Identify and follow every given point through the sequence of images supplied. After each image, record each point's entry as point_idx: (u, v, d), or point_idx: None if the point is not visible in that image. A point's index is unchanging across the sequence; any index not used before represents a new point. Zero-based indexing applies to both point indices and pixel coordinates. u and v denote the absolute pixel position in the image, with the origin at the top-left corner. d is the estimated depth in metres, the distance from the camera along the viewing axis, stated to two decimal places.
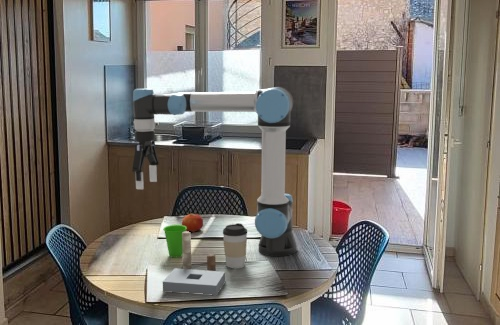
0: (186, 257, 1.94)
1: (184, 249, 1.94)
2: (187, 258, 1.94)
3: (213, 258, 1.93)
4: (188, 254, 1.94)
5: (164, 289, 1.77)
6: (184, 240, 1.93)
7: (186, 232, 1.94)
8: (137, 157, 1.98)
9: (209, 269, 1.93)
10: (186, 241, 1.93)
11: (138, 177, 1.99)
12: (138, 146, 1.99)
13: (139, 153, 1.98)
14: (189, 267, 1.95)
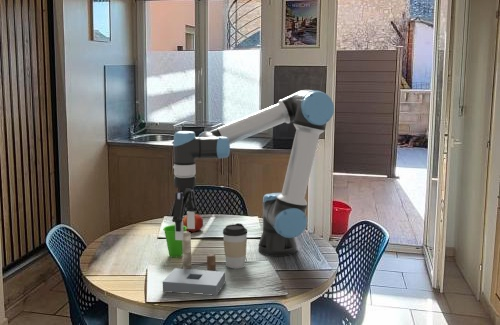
0: (186, 257, 1.94)
1: (184, 249, 1.94)
2: (187, 258, 1.94)
3: (213, 258, 1.93)
4: (188, 254, 1.94)
5: (164, 289, 1.77)
6: (184, 240, 1.93)
7: (186, 232, 1.94)
8: (178, 206, 1.84)
9: (209, 269, 1.93)
10: (186, 241, 1.93)
11: (178, 227, 1.85)
12: (179, 194, 1.85)
13: (180, 202, 1.84)
14: (189, 267, 1.95)
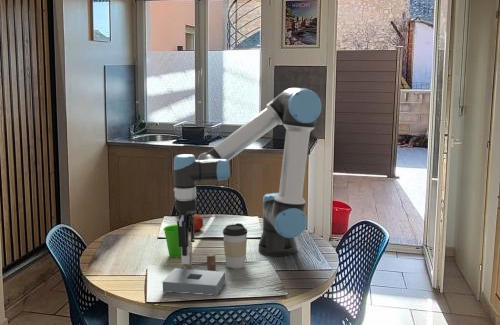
0: None
1: None
2: None
3: (213, 258, 1.93)
4: None
5: (164, 289, 1.77)
6: None
7: None
8: (181, 233, 1.88)
9: (209, 269, 1.93)
10: None
11: (184, 252, 1.92)
12: (180, 223, 1.87)
13: (183, 229, 1.88)
14: (189, 267, 1.95)
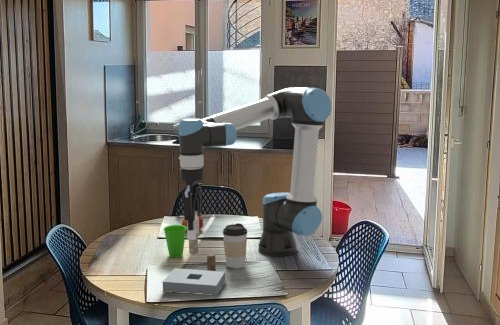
0: None
1: None
2: None
3: (213, 258, 1.93)
4: None
5: (164, 289, 1.77)
6: None
7: None
8: (187, 205, 1.71)
9: (209, 269, 1.93)
10: None
11: (190, 226, 1.74)
12: (186, 193, 1.69)
13: (189, 200, 1.71)
14: (195, 249, 1.78)
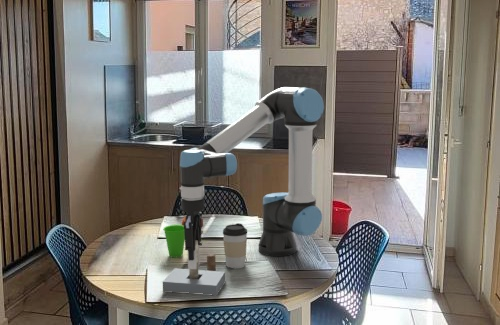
0: None
1: None
2: None
3: (213, 258, 1.93)
4: None
5: (164, 289, 1.77)
6: None
7: None
8: (188, 235, 1.73)
9: (209, 269, 1.93)
10: None
11: (191, 256, 1.76)
12: (187, 224, 1.71)
13: (190, 231, 1.72)
14: (196, 278, 1.80)
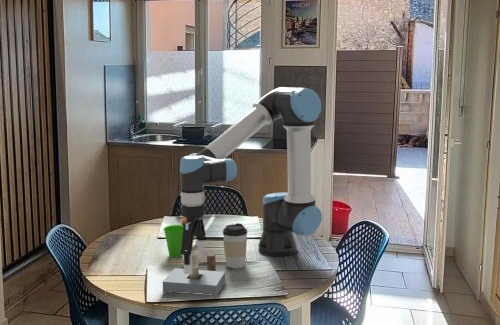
0: (193, 272, 1.79)
1: None
2: (194, 273, 1.79)
3: (213, 258, 1.93)
4: (195, 270, 1.79)
5: (164, 289, 1.77)
6: None
7: (193, 246, 1.79)
8: (186, 237, 1.70)
9: (209, 269, 1.93)
10: (193, 256, 1.78)
11: (187, 261, 1.71)
12: (187, 225, 1.71)
13: (188, 233, 1.71)
14: None
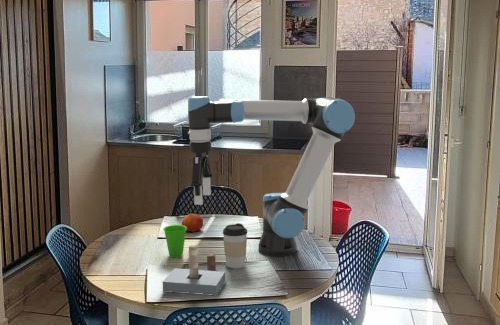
0: (193, 273, 1.79)
1: (191, 264, 1.79)
2: (194, 273, 1.79)
3: (213, 258, 1.93)
4: (195, 270, 1.79)
5: (164, 289, 1.77)
6: (191, 255, 1.78)
7: (193, 246, 1.79)
8: (196, 170, 1.85)
9: (209, 269, 1.93)
10: (193, 256, 1.78)
11: (197, 191, 1.86)
12: (196, 158, 1.85)
13: (198, 166, 1.85)
14: None
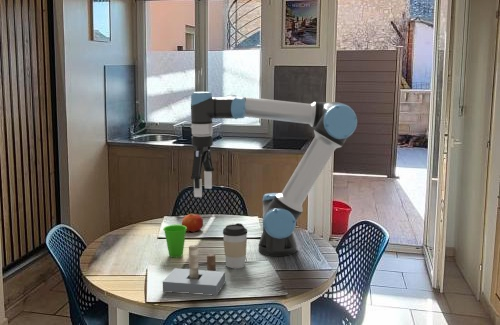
0: (193, 272, 1.79)
1: (191, 264, 1.79)
2: (194, 273, 1.79)
3: (213, 258, 1.93)
4: (195, 270, 1.79)
5: (164, 289, 1.77)
6: (191, 254, 1.78)
7: (193, 246, 1.79)
8: (196, 163, 1.90)
9: (209, 269, 1.93)
10: (193, 256, 1.78)
11: (197, 184, 1.91)
12: (197, 152, 1.90)
13: (198, 159, 1.90)
14: None
